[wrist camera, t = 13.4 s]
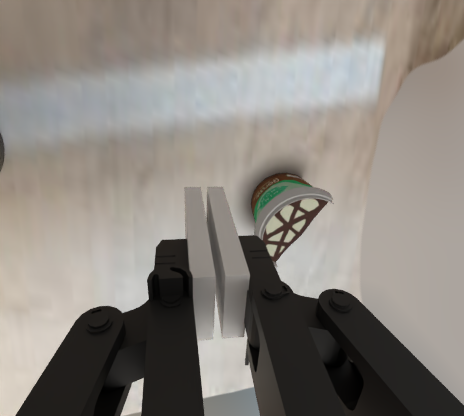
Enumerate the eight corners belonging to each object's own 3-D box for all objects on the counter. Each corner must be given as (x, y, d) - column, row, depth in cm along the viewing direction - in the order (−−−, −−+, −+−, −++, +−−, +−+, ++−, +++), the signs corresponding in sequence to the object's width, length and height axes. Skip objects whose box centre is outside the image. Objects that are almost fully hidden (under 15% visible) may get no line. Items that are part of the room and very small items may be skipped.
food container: (277, 148, 47) (300, 175, 38) (308, 170, 49) (336, 200, 40) (227, 213, 50) (238, 251, 42) (258, 230, 53) (274, 270, 44)
